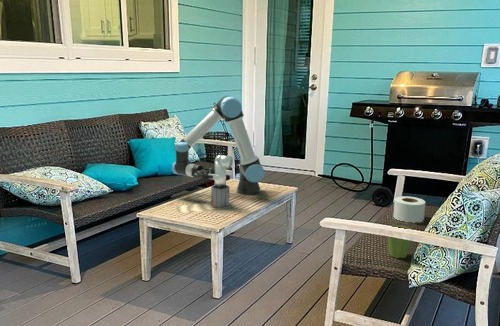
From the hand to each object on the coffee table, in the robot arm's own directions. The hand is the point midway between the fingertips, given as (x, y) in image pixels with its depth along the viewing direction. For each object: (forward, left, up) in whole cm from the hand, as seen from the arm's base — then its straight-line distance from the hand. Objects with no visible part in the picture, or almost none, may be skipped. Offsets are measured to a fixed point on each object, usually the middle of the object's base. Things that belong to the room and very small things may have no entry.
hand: (225, 175), depth 244 cm
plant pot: (-46, +88, -20) cm, 102 cm away
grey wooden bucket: (+2, -3, -18) cm, 18 cm away
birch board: (+12, -4, -19) cm, 23 cm away
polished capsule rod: (+1, -2, -10) cm, 10 cm away
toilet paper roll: (-85, +52, -20) cm, 102 cm away
